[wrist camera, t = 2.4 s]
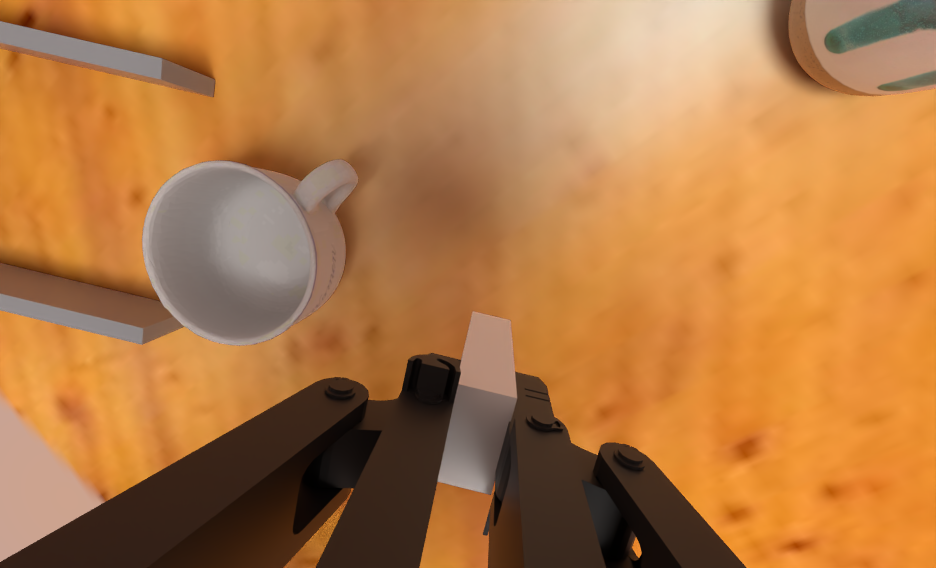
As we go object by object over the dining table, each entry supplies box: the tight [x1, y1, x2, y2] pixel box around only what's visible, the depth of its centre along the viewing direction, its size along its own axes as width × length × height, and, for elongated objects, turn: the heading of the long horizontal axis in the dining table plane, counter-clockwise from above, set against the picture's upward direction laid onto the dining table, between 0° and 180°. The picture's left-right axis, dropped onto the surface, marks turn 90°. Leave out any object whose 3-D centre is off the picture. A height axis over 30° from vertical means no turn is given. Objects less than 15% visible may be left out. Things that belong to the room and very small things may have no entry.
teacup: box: [142, 159, 358, 346], centre depth 29 cm, size 14×11×8 cm
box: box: [0, 21, 215, 344], centre depth 31 cm, size 18×20×5 cm
